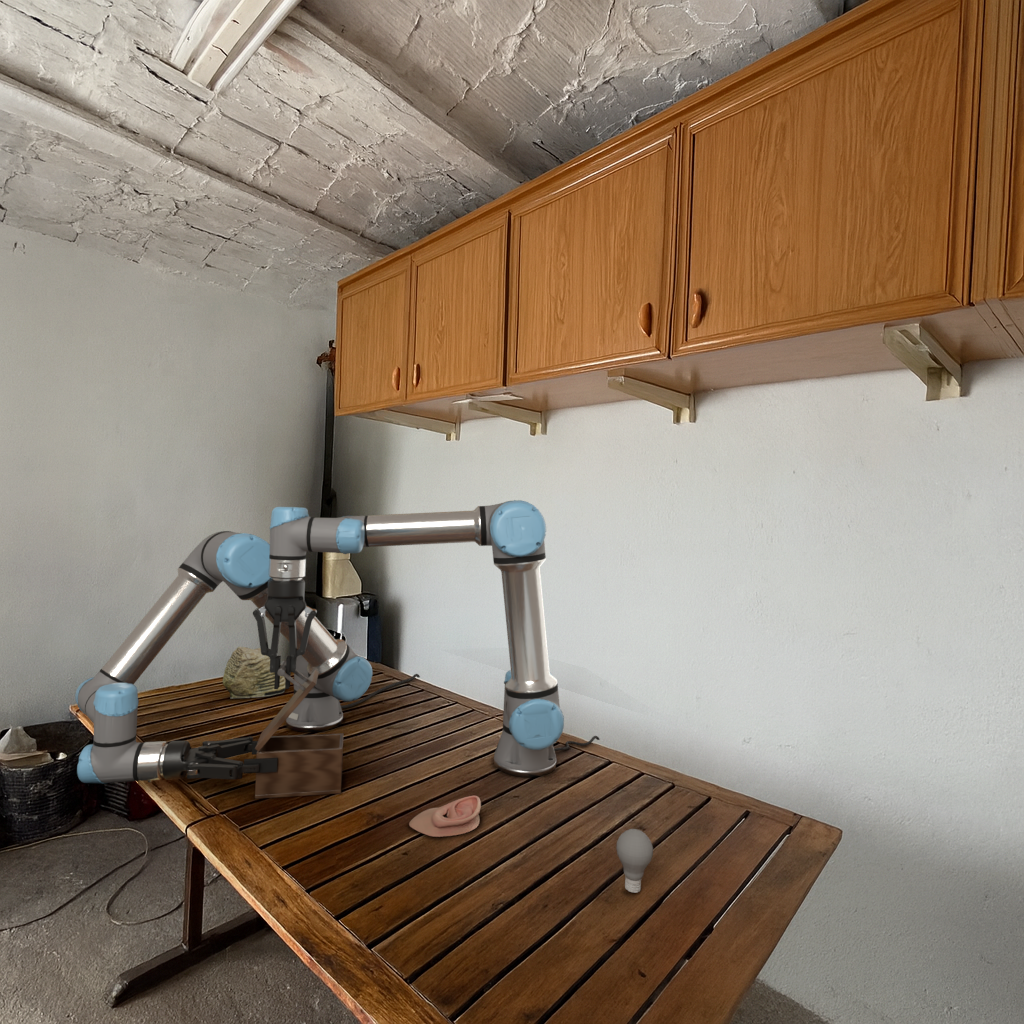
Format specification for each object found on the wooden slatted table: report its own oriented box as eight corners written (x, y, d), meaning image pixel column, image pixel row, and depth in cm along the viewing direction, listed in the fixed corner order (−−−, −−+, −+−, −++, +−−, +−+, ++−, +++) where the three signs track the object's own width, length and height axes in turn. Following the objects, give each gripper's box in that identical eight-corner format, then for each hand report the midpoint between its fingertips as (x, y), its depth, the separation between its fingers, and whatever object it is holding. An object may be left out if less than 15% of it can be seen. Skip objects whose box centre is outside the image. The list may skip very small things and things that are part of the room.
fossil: (218, 695, 195) (220, 647, 195) (278, 685, 208) (279, 640, 207) (228, 703, 189) (230, 653, 188) (289, 692, 201) (290, 645, 201)
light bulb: (610, 879, 108) (613, 822, 108) (644, 879, 109) (647, 822, 109) (619, 902, 102) (622, 840, 102) (655, 901, 103) (658, 840, 103)
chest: (341, 774, 145) (343, 733, 144) (340, 793, 136) (342, 748, 135) (261, 779, 141) (263, 736, 140) (254, 798, 132) (256, 753, 131)
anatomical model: (403, 811, 121) (424, 785, 132) (402, 832, 121) (423, 804, 132) (471, 821, 118) (485, 794, 129) (470, 843, 118) (485, 813, 129)
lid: (319, 672, 143) (291, 651, 141) (316, 684, 134) (286, 661, 132) (265, 735, 140) (236, 714, 139) (258, 751, 132) (227, 729, 130)
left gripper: (180, 757, 142) (285, 752, 148) (148, 803, 121) (272, 795, 126) (181, 724, 142) (286, 720, 148) (149, 764, 121) (274, 758, 126)
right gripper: (247, 580, 131) (243, 693, 131) (320, 581, 134) (316, 691, 135) (253, 575, 138) (249, 682, 139) (323, 576, 142) (318, 681, 142)
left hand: (280, 755), depth 137 cm, fingers closed on chest, 9 cm apart
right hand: (282, 686), depth 137 cm, fingers closed on lid, 1 cm apart
